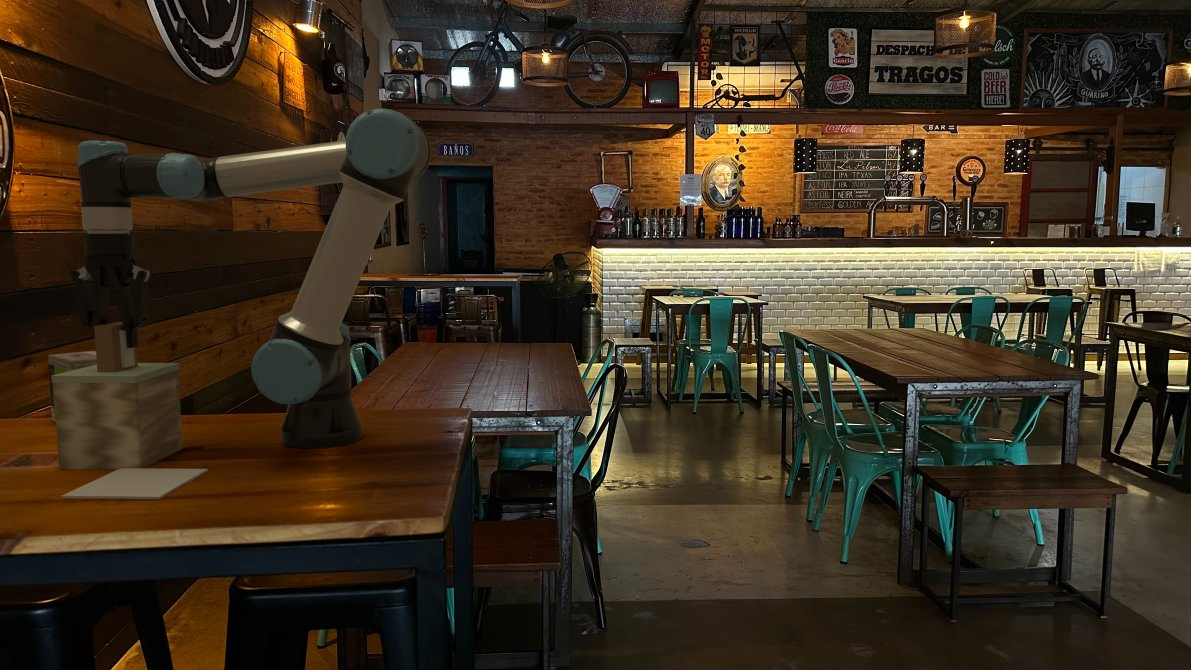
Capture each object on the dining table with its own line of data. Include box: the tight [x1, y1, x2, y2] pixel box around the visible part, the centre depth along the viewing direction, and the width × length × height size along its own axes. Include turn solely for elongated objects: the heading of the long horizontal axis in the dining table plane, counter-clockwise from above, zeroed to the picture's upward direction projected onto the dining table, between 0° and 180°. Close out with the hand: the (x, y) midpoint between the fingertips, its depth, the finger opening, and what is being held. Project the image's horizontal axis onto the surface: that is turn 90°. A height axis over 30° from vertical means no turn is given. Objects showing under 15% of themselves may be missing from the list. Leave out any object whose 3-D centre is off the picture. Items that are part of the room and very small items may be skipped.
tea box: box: [47, 350, 97, 423], centre depth 175 cm, size 15×10×15 cm, turn 49°
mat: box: [61, 467, 209, 500], centre depth 133 cm, size 15×15×1 cm
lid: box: [52, 321, 180, 383], centre depth 145 cm, size 14×14×10 cm
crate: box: [53, 370, 184, 471], centre depth 147 cm, size 14×14×15 cm
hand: (118, 366), depth 146 cm, fingers closed on lid, 3 cm apart
